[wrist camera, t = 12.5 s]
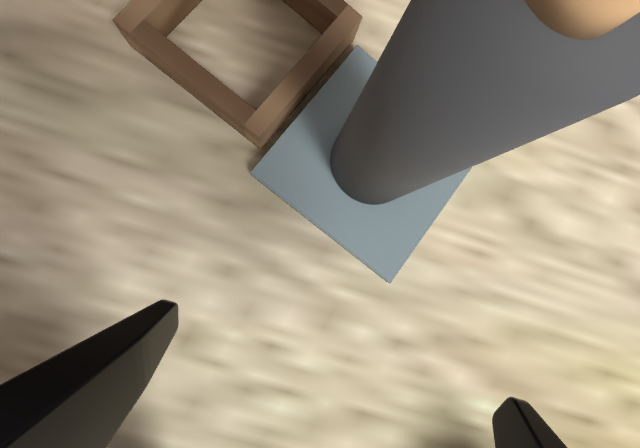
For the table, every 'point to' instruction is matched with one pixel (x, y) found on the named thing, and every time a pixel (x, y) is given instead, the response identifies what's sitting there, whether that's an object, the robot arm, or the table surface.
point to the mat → (324, 193)
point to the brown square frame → (256, 125)
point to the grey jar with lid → (481, 87)
